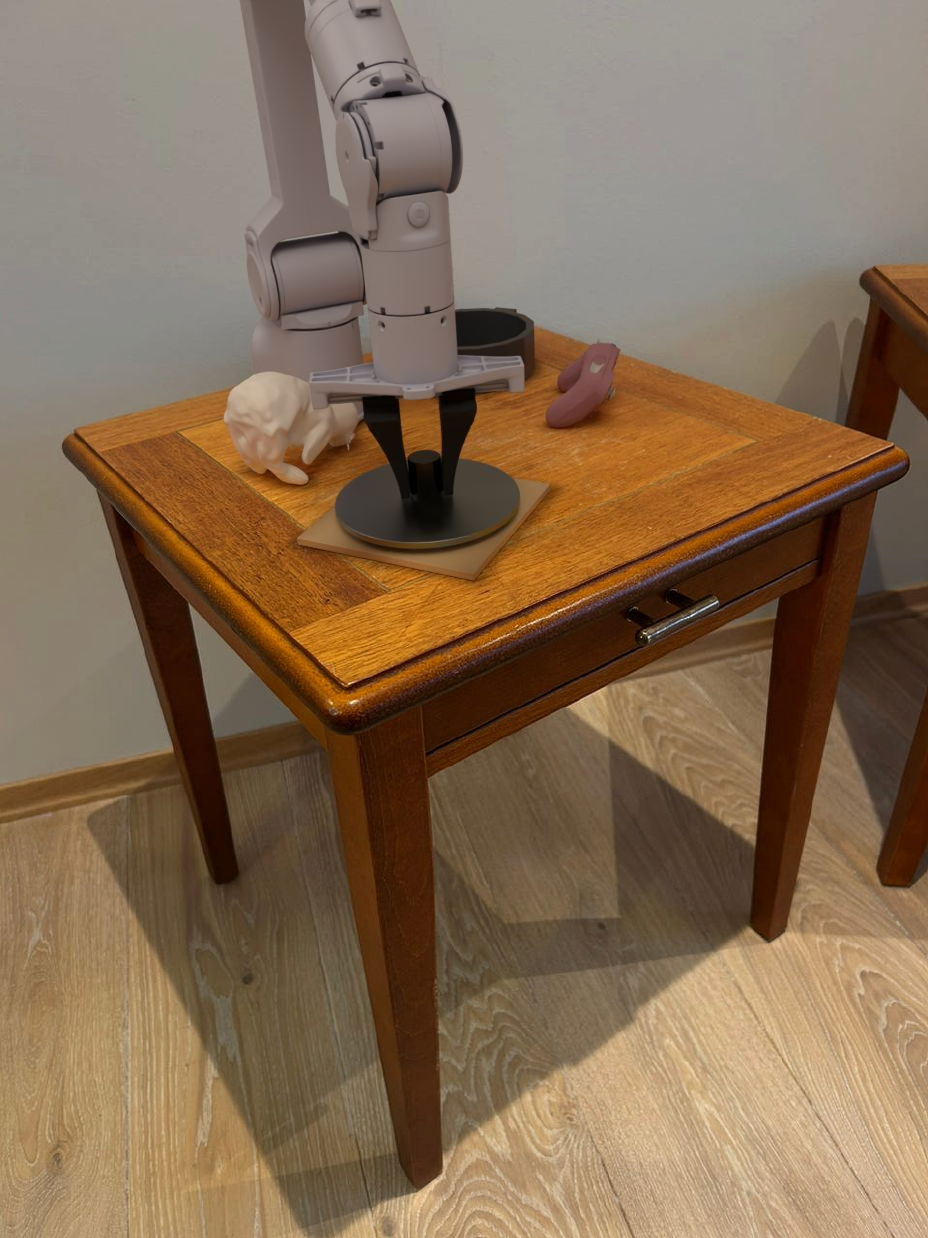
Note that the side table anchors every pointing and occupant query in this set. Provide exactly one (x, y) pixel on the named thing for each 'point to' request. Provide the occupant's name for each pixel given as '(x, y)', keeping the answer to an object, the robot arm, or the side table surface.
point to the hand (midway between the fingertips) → (426, 491)
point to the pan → (496, 335)
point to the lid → (427, 504)
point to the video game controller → (584, 385)
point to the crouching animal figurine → (283, 423)
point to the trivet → (442, 560)
